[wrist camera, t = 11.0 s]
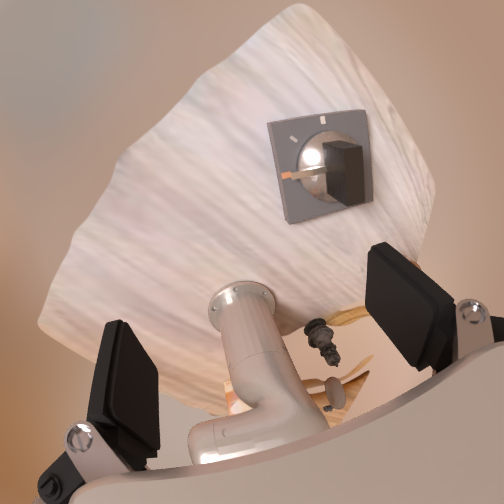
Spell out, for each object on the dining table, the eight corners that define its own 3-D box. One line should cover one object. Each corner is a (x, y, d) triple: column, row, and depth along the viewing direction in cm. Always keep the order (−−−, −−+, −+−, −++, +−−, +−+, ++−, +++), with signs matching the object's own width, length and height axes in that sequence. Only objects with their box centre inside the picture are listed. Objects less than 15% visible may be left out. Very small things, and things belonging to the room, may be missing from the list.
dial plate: (366, 197, 47) (373, 201, 45) (285, 220, 46) (289, 225, 44) (358, 109, 39) (366, 109, 37) (266, 123, 38) (270, 123, 36)
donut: (323, 372, 70) (338, 400, 61) (335, 368, 70) (350, 395, 61) (322, 390, 75) (334, 416, 66) (332, 386, 75) (345, 412, 66)
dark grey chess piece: (330, 317, 59) (355, 355, 49) (321, 336, 62) (342, 374, 51) (308, 316, 58) (331, 357, 47) (298, 337, 60) (319, 377, 50)
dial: (355, 127, 39) (384, 132, 32) (360, 191, 44) (386, 206, 38) (281, 137, 37) (301, 143, 31) (291, 207, 43) (311, 226, 36)
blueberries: (324, 413, 85) (326, 417, 84) (312, 412, 81) (314, 416, 79) (339, 402, 84) (341, 406, 82) (327, 401, 80) (330, 405, 78)
